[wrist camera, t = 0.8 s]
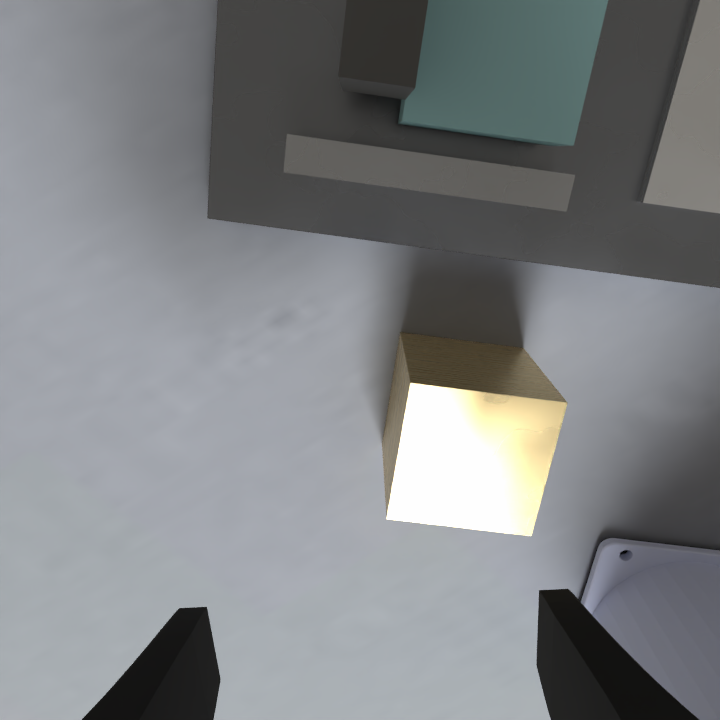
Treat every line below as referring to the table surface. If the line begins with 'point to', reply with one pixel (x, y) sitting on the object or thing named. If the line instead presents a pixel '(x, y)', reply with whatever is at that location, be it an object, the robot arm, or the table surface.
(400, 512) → the block
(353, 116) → the press bed
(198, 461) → the table surface
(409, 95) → the teal and grey block
